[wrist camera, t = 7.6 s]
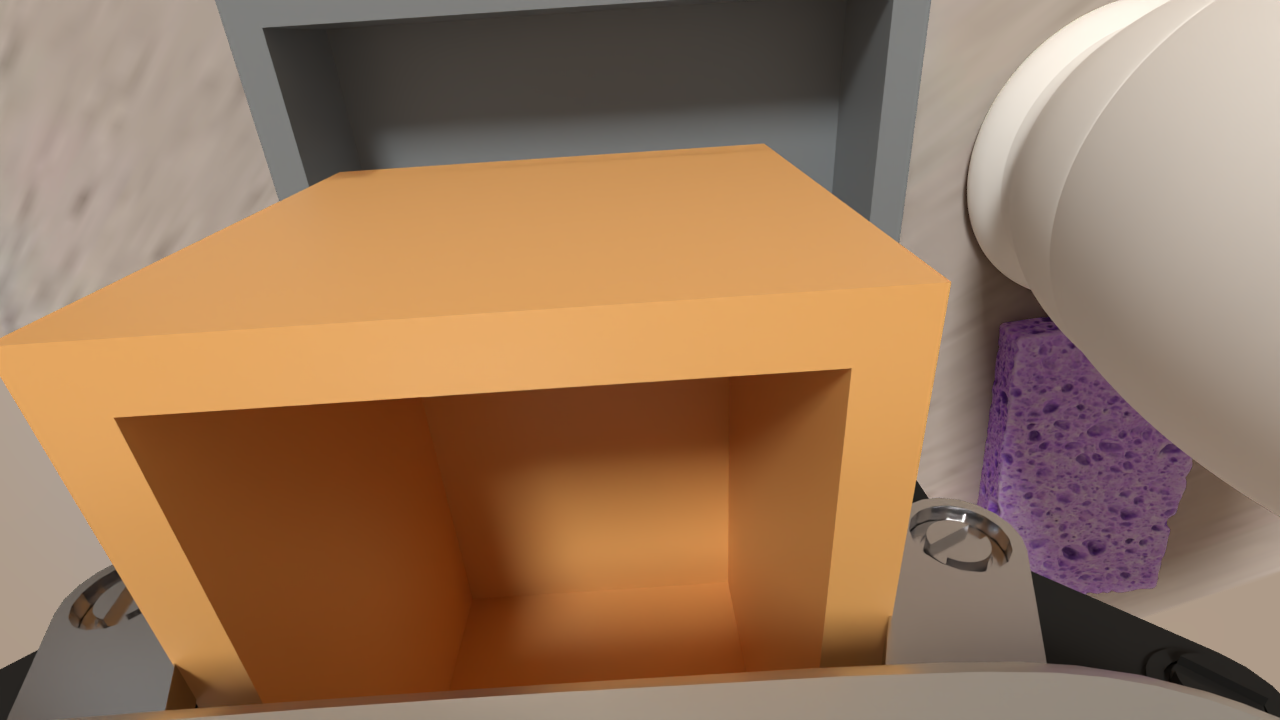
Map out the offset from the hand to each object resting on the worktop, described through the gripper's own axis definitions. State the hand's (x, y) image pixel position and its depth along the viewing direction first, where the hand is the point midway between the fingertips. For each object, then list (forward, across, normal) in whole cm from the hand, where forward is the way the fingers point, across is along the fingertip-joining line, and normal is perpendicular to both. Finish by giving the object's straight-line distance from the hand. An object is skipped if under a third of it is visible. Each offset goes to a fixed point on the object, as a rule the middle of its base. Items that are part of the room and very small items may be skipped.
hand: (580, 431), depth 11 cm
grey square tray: (+10, 0, 0) cm, 10 cm away
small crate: (+1, 0, 0) cm, 1 cm away
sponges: (+11, -17, +9) cm, 22 cm away
